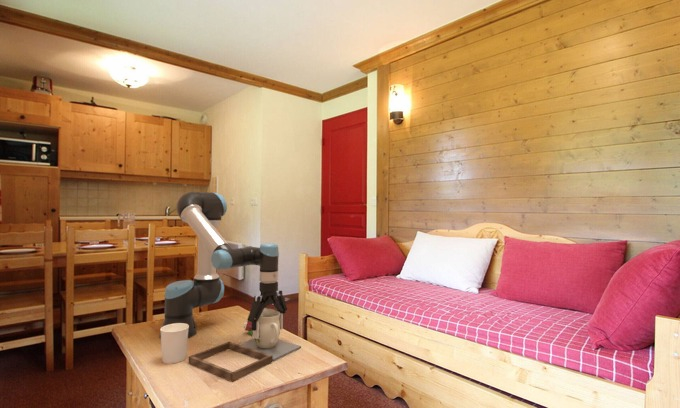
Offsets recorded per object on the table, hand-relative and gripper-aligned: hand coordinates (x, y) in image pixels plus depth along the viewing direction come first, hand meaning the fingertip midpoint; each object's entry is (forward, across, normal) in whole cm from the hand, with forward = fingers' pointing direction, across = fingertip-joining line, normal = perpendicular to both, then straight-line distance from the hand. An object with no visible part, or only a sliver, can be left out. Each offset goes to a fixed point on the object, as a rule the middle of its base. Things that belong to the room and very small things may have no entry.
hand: (268, 333), depth 146 cm
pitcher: (+5, 0, 0) cm, 5 cm away
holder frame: (+6, -18, +1) cm, 19 cm away
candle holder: (+6, -28, +21) cm, 36 cm away
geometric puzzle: (+6, +8, +18) cm, 21 cm away
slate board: (+6, 0, 0) cm, 6 cm away
